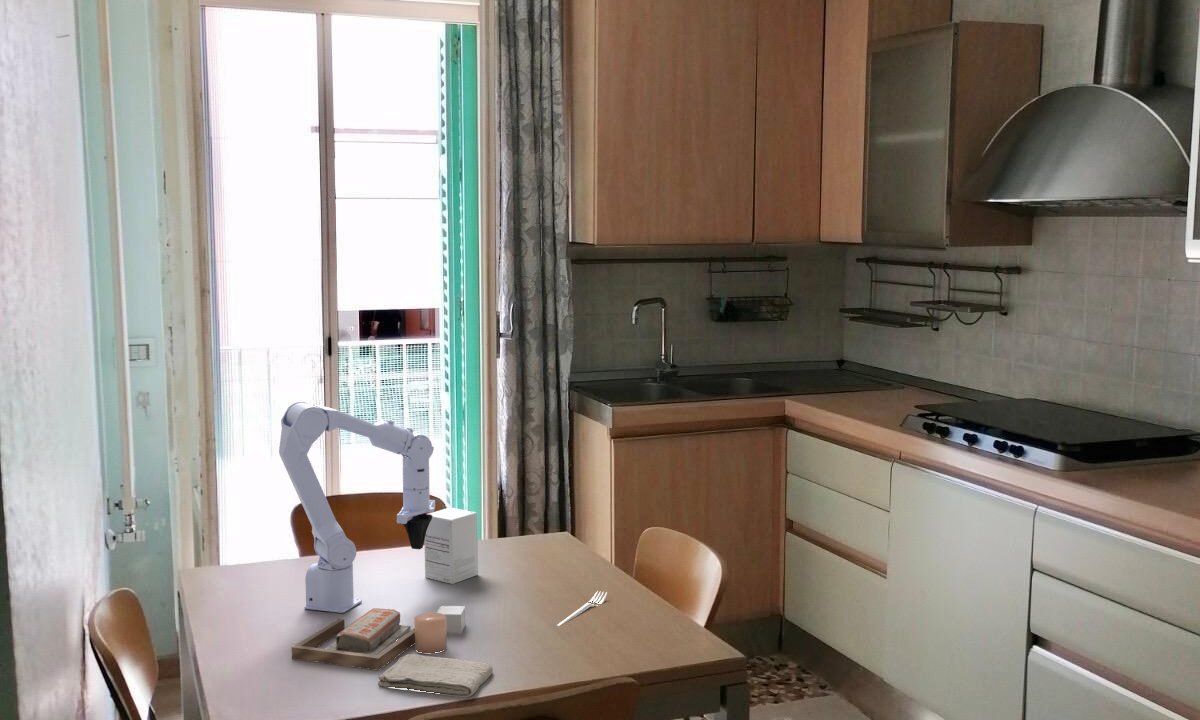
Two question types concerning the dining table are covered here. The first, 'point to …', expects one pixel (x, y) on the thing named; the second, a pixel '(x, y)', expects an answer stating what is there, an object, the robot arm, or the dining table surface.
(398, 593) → the dining table surface
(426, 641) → the peach pillar candle
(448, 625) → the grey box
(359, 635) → the packaged product
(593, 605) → the fork
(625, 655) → the dining table surface
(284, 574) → the dining table surface
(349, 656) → the open wooden frame
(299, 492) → the robot arm
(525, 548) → the dining table surface
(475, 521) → the supplement box
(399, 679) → the washcloth
